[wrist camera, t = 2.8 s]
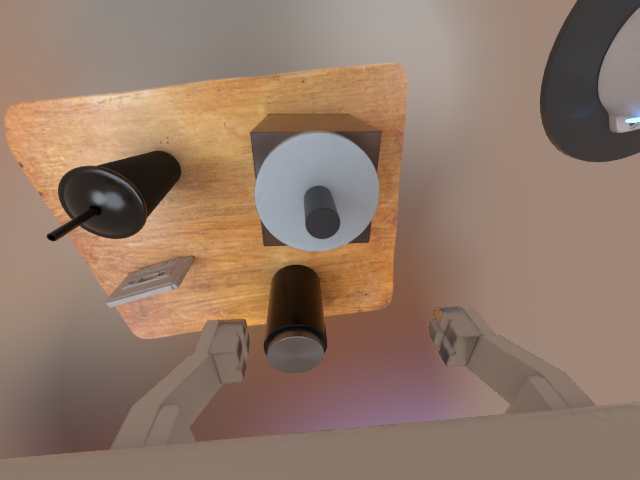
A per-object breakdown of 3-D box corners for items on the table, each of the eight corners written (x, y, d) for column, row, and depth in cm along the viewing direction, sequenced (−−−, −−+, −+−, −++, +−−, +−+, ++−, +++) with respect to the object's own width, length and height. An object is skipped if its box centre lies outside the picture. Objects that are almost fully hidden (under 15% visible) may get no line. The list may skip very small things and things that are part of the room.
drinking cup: (133, 185, 39) (4, 266, 21) (133, 132, 35) (-23, 177, 18) (189, 199, 40) (109, 284, 23) (193, 150, 37) (103, 206, 20)
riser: (349, 113, 36) (381, 131, 22) (344, 190, 42) (369, 242, 28) (267, 114, 35) (250, 132, 22) (274, 192, 41) (263, 246, 27)
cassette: (191, 252, 45) (173, 281, 38) (196, 261, 46) (180, 290, 39) (127, 271, 46) (99, 302, 39) (134, 279, 47) (107, 311, 40)
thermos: (319, 263, 48) (329, 331, 35) (319, 301, 53) (327, 373, 40) (269, 266, 48) (258, 335, 34) (273, 303, 52) (265, 378, 39)
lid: (383, 130, 22) (410, 143, 17) (369, 243, 28) (387, 280, 23) (248, 131, 22) (233, 145, 16) (262, 247, 27) (255, 286, 22)
